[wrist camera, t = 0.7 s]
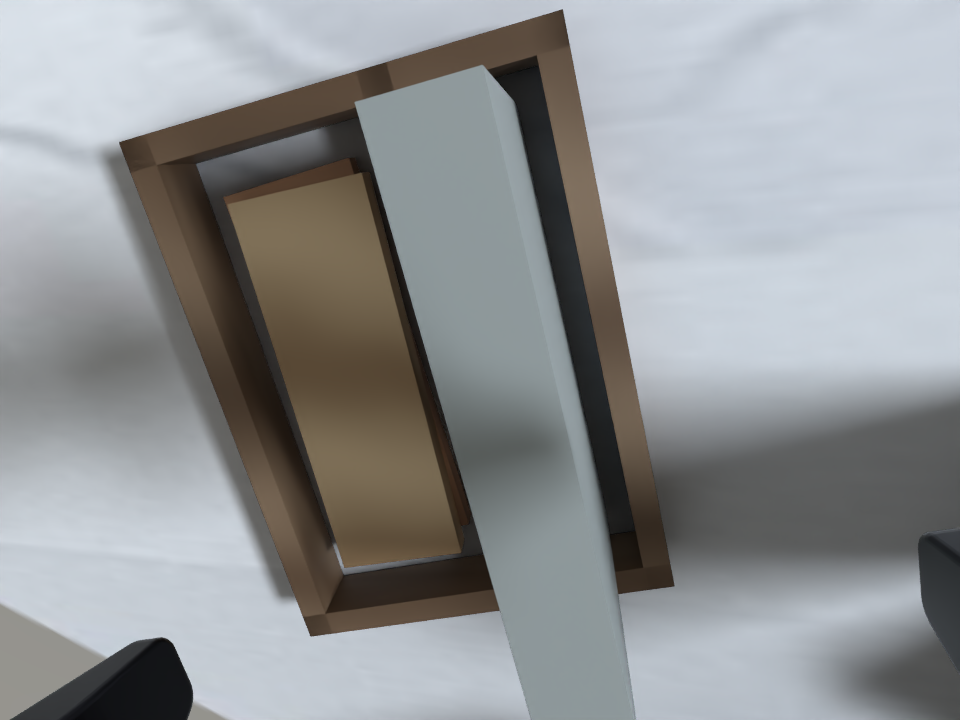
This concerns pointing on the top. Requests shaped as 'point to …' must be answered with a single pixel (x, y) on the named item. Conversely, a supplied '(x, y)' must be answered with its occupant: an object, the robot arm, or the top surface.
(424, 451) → the offcut top
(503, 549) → the gray rectangular panel
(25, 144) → the top surface
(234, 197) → the offcut middle
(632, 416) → the brown wooden tray
